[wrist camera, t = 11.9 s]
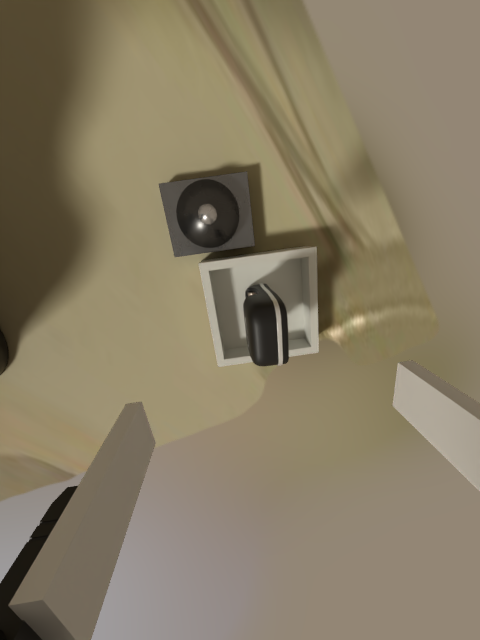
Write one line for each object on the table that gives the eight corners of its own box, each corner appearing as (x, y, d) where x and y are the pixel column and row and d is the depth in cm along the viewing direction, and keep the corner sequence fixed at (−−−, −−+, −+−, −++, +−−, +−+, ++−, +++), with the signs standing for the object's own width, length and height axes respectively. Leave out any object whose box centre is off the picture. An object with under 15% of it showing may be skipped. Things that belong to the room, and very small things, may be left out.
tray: (219, 353, 35) (218, 366, 31) (202, 260, 30) (198, 263, 27) (308, 340, 35) (318, 352, 31) (305, 245, 31) (316, 246, 27)
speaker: (178, 256, 30) (170, 258, 26) (163, 187, 27) (151, 178, 23) (253, 245, 30) (257, 246, 26) (245, 176, 27) (249, 164, 23)
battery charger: (238, 284, 31) (245, 308, 20) (266, 280, 31) (288, 303, 20) (243, 331, 33) (252, 376, 22) (269, 328, 33) (290, 371, 22)
